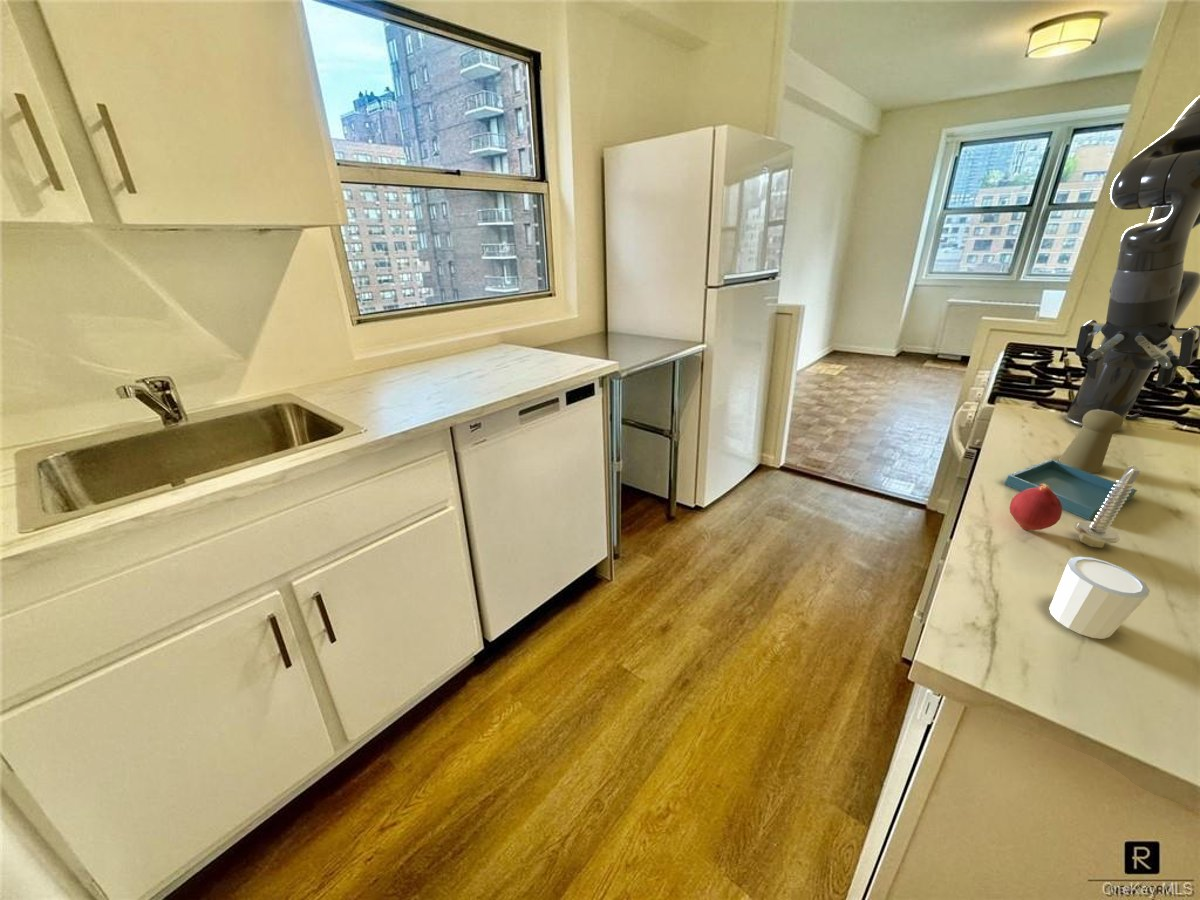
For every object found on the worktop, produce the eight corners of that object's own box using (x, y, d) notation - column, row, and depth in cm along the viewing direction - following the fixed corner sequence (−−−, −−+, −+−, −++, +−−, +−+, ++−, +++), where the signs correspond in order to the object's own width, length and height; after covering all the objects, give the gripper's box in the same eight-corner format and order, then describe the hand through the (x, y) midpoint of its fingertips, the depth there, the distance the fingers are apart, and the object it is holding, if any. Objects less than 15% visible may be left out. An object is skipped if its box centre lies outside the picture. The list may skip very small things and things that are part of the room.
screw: (1102, 556, 68) (1061, 537, 72) (1119, 547, 70) (1079, 529, 74) (1150, 477, 62) (1103, 461, 66) (1168, 470, 64) (1121, 454, 68)
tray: (1046, 467, 92) (1051, 458, 91) (1131, 499, 82) (1137, 489, 81) (1004, 484, 86) (1008, 475, 85) (1089, 520, 76) (1095, 510, 75)
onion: (1039, 522, 76) (1062, 478, 72) (1057, 544, 71) (1082, 498, 67) (996, 515, 77) (1016, 472, 74) (1010, 536, 73) (1032, 490, 69)
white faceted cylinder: (1028, 600, 61) (1052, 557, 57) (1078, 597, 61) (1104, 554, 58) (1080, 645, 55) (1111, 599, 51) (1135, 641, 55) (1169, 595, 52)
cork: (1108, 474, 89) (1139, 420, 84) (1071, 470, 90) (1099, 417, 85) (1086, 459, 95) (1114, 407, 90) (1051, 456, 96) (1076, 404, 91)
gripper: (1223, 282, 72) (1198, 378, 80) (1099, 282, 84) (1087, 365, 92) (1197, 302, 70) (1173, 399, 78) (1073, 299, 82) (1063, 383, 90)
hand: (1127, 381), depth 85 cm, fingers open, 8 cm apart
